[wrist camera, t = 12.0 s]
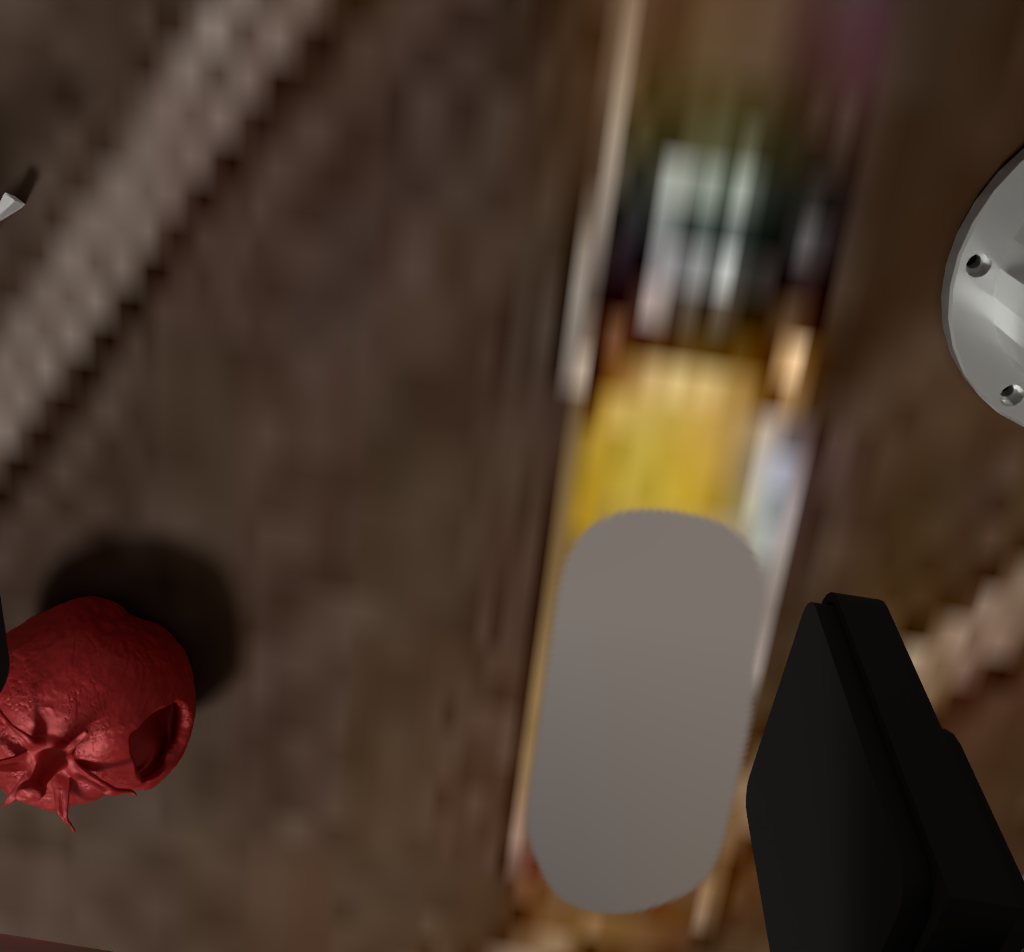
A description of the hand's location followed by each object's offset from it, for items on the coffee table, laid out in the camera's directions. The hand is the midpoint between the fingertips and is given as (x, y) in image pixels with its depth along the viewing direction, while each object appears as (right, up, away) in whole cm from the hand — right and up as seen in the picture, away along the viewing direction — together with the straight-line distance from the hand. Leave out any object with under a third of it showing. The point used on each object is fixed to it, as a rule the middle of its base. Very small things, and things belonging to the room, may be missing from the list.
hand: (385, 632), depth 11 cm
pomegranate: (-18, -7, +37) cm, 42 cm away
